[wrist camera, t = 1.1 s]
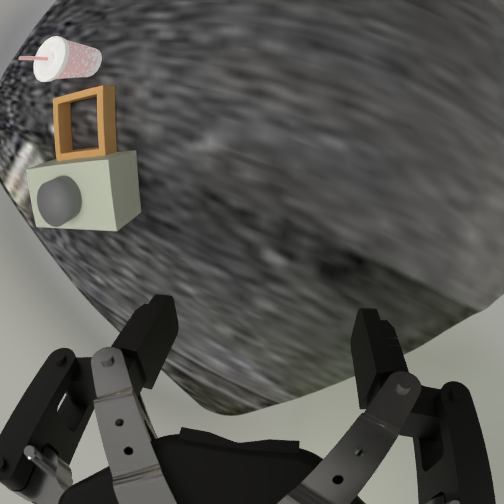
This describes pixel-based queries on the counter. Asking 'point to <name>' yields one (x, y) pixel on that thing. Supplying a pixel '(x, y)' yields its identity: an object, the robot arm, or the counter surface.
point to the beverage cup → (64, 60)
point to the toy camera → (86, 173)
